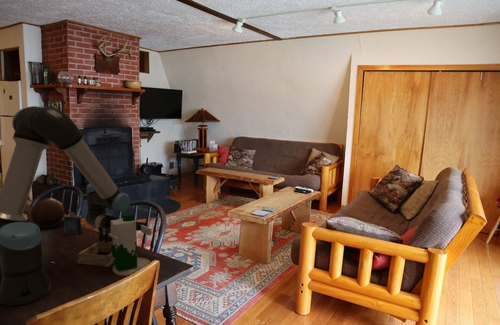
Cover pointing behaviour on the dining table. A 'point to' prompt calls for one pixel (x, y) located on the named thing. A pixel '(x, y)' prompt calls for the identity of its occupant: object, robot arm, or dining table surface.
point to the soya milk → (124, 242)
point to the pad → (140, 263)
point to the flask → (72, 224)
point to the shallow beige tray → (92, 259)
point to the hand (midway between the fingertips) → (134, 236)
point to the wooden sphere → (47, 212)
